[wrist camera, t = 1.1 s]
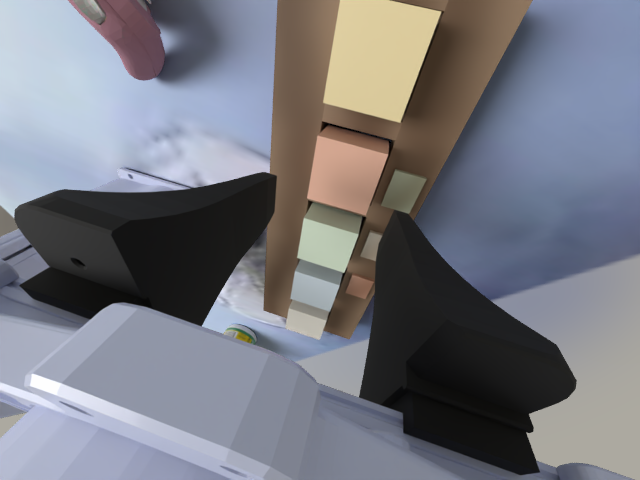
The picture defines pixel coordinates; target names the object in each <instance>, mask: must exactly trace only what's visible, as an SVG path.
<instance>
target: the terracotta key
mask: <svg viewBox="0 0 640 480" xmlns="http://www.w3.org/2000/svg"><path fill="white" fill-rule="evenodd" d="M388 151H389V141H387V140H383V139H380V138H376V137H372V136H368V135H365V134H361V133H357V132H353V131H350V130H346V129H342V128H338V127H334V126H331V125H328V126H327V127H326V128H325V129H324V130H323V131H322V132H321V133H320V134H319V135H318V136H317V142H316V148H315V154H314V160H313V166H312V172H311V178H310V184H309V190H308V196H307V198H308V199H311V200H314V201H318V202H321V203H325V204H328V205H332V206H335V207H338V208H342V209H345V210H349V211H352V212H355V213H359V214H362V215H366V213H367V211H368V208H369V205H370V203H371V200H372V197H373V195H374V192H375V189H376V187H377V184H378V181H379V178H380V176H381V173H382V170H383V168H384V165H385V162H386V160H387V157H388Z"/></svg>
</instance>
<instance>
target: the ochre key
mask: <svg viewBox="0 0 640 480" xmlns="http://www.w3.org/2000/svg"><path fill="white" fill-rule="evenodd" d="M440 14H441V11H436V10H432V9H427V8H422V7H418V6H413V5H409V4H404V3H400V2H395V1H390V0H340V4H339V10H338V16H337V22H336V28H335V34H334V40H333V46H332V52H331V58H330V64H329V70H328V76H327V82H326V88H325V94H324V100H323V103H326V104H329V105H333V106H337V107H341V108H345V109H349V110H353V111H356V112H360V113H364V114H368V115H372V116H376V117H380V118H384V119H387V120H391V121H395V122H399V123H400V122H401V119H402V116H403V114H404V111H405V108H406V106H407V103H408V100H409V98H410V95H411V92H412V90H413V87H414V84H415V81H416V79H417V76H418V73H419V71H420V68H421V65H422V63H423V60H424V57H425V55H426V52H427V49H428V46H429V44H430V41H431V38H432V36H433V33H434V30H435V28H436V25H437V22H438V20H439V17H440Z"/></svg>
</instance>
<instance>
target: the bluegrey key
mask: <svg viewBox="0 0 640 480" xmlns="http://www.w3.org/2000/svg"><path fill="white" fill-rule="evenodd" d="M342 274H343V272H340V271H337V270H334V269H331V268H327V267H324V266H321V265H318V264H315V263H311V262H308V261H305V260H302V259H300V261H299V264H298V266H297V268H296V270H295V274H294V280H293V286H292V292H291V298H290V299H292V300H296V301H299V302H302V303H305V304H308V305H311V306H314V307H317V308H320V309H323V310H326V311H329V312H330V310H331V308H332V305H333V302H334V300H335V297H336V294H337V292H338V289H339V286H340V282H341V278H342Z"/></svg>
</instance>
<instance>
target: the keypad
mask: <svg viewBox="0 0 640 480" xmlns="http://www.w3.org/2000/svg"><path fill="white" fill-rule="evenodd" d="M390 1H395V2H400V3H404V4H409V5H413V6H418V7H422V8H427V9H432V10H436V11H441V14H440V17H439V20H438V22H437V25H436V28H435V30H434V33H433V36H432V38H431V41H430V44H429V46H428V49H427V52H426V55H425V57H424V60H423V63H422V65H421V68H420V71H419V73H418V76H417V79H416V81H415V84H414V87H413V90H412V92H411V95H410V98H409V100H408V103H407V106H406V108H405V111H404V114H403V116H402V119H401V122H400V123H399V122H395V121H391V120H387V119H384V118H380V117H376V116H372V115H368V114H364V113H360V112H356V111H353V110H349V109H345V108H341V107H337V106H333V105H329V104H326V103H323V100H324V94H325V88H326V82H327V76H328V70H329V64H330V58H331V52H332V46H333V40H334V34H335V28H336V22H337V16H338V10H339V4H340V0H278V4H277V26H276V48H275V70H274V92H273V114H272V136H271V157H270V174H273V175H276V176H277V184H276V199H275V213H274V214H273V216H272V218H271V220H270V222H269V223H268V225H267V245H266V267H265V289H264V311H267V312H270V313H273V314H276V315H279V316H282V317H285V318H287V316H288V310H289V306H290V304H291V302H292V299H290V298H291V292H292V286H293V280H294V274H295V270H296V268H297V266H298V264H299V261H300V259H299V258H297V256H298V250H299V244H300V238H301V232H302V226H303V220H304V217H305V215H306V213H307V212H308V210H309V208H310V206H311V205H312V203H313V202H316V203H320V204H323V205H327V206H330V207H333V208H337V209H340V210H344V211H347V212H350V213H354V214H357V215H361V216H364V218H363V221H362V223H361V226H360V230H359V235H358V238H357V240H356V243H355V246H354V248H353V251H352V254H351V257H350V259H349V262H348V265H347V267H346V270H345V273H343V275H342V278H341V282H340V286H339V289H338V292H337V294H336V297H335V300H334V302H333V305H332V308H331V310H330V312H329V314H328V317H327V321H326V324H325V327H324V329H323V331H326V332H329V333H332V334H335V335H338V336H341V337H344V338H347V339H350V338H351V336H352V334H353V332H354V330H355V328H356V326H357V325H358V323H359V321H360V319H361V317H362V315H363V314H364V312H365V310H366V308H367V306H368V304H369V302H370V301H371V299H372V297H373V295H374V293H375V264H376V256H377V250H378V244H379V242H380V240H381V237H382V235H383V233H384V231H385V229H386V227H387V224H388V222H389V220H390V218H391V216H392V213H393V211H394V210H398V211H401V212H405V213H408V214H409V215H410V217H411V218H412V219H413V221H414V219H415V217H416V215H417V213H418V212H419V210H420V208H421V206H422V204H423V202H424V201H425V199H426V197H427V195H428V193H429V191H430V189H431V188H432V186H433V184H434V182H435V180H436V178H437V176H438V175H439V173H440V171H441V169H442V167H443V165H444V163H445V162H446V160H447V158H448V156H449V154H450V152H451V151H452V149H453V147H454V145H455V143H456V141H457V139H458V138H459V136H460V134H461V132H462V130H463V128H464V126H465V125H466V123H467V121H468V119H469V117H470V115H471V113H472V112H473V110H474V108H475V106H476V104H477V102H478V100H479V99H480V97H481V95H482V93H483V91H484V89H485V88H486V86H487V84H488V82H489V80H490V78H491V76H492V75H493V73H494V71H495V69H496V67H497V65H498V63H499V62H500V60H501V58H502V56H503V54H504V52H505V50H506V49H507V47H508V45H509V43H510V41H511V39H512V38H513V36H514V34H515V32H516V30H517V28H518V26H519V25H520V23H521V21H522V19H523V17H524V15H525V13H526V12H527V10H528V8H529V6H530V4H531V2H532V0H390ZM329 123H331V124H335V125H338V126H342V127H346V128H350V129H353V130H357V131H361V132H365V133H369V134H372V135H376V136H380V137H384V138H387V139H391V140H392V141H391V144H390V147H389V151H388V157H387V160H386V162H385V165H384V168H383V170H382V173H381V176H380V178H379V181H378V184H377V187H376V189H375V192H374V195H373V197H372V200H371V203H370V205H369V208H368V211H367V213H366V215H362V214H359V213H355V212H352V211H349V210H345V209H342V208H338V207H335V206H332V205H328V204H325V203H321V202H318V201H314V200H311V199H308V198H307V196H308V190H309V184H310V178H311V172H312V166H313V160H314V154H315V148H316V142H317V136H318V135H319V134H320V133H321V132H322V131H323V130H324V129H325V128H326V127H327V126H328V124H329Z"/></svg>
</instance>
